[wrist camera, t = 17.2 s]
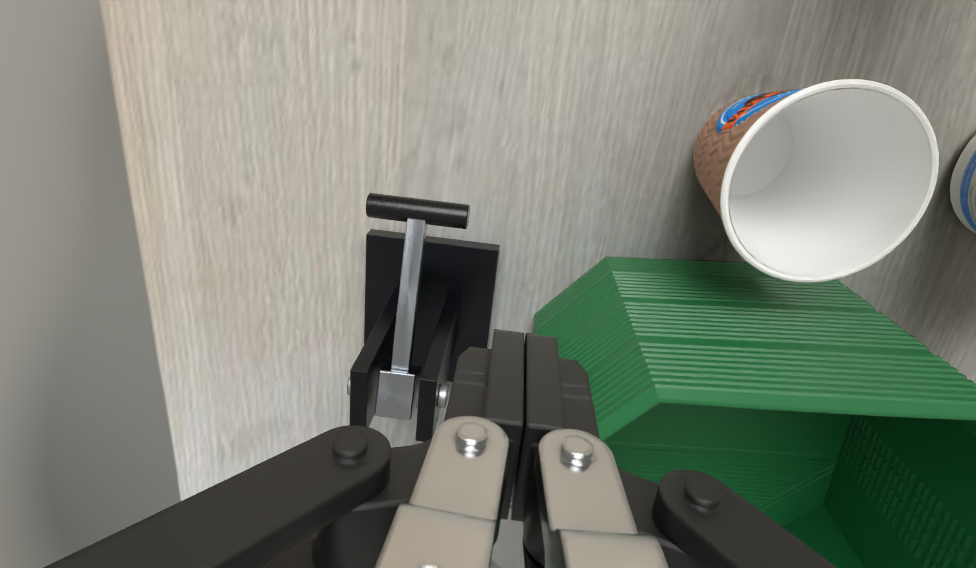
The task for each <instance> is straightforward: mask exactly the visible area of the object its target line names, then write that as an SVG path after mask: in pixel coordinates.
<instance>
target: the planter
mask: <svg viewBox="0 0 976 568" xmlns="http://www.w3.org/2000/svg"><path fill="white" fill-rule="evenodd" d="M764 265H765V264H764ZM783 273H784V272H783ZM534 334H537V335H545V336H553V337H557V344H558V354H559V358H564V359H572V360H577V361H578V362H579V363H580V365H581V366H582V367H583V368H584V369H585V371H586V372H587V373H588V378H589V383H590V390H591V394H592V401H593V404H594V410H595V415H596V421H597V426H598V431H599V437H600V440H602V441H603V442H604V443H605V444H606V445H607V446H608V447H609V448H610V450H611V451H612V454H613V456H614V459H615V462H616V465H617V466H619V467H620V468H622V469H623V470H625V471H627V472H629V473H631V474H633V475H636V476H638V477H641V478H643V479H646V480H649V481H652V482H654V483H657V484H659V483H660V481H661V478H662V477H663V476H664V475H665V474H667V473H668V472H671V471H673V470H680V469H686V470H694V471H698V472H701V473H705V474H707V475H709V476H712V477H714V478H715V479H717V480H719V481H720V482H722V483H723V484H725V485H726V486H728V487H729V488H730V489H732V490H733V491H734V492H736V493H737V494H738V495H740V496H741V497H742V498H744V499H745V500H747V501H748V502H749V503H751V504H752V505H753V506H755V507H756V508H757V509H759V510H760V511H761V512H763V513H764V514H765V515H767V516H768V517H769V518H771V519H772V520H773V521H775V522H776V523H778V524H779V525H780V526H782V527H783V528H784V529H786V530H787V531H788V532H790V533H791V534H792V535H794V536H795V537H796V538H798V539H799V540H800V541H802V542H803V543H805V544H806V545H807V546H809V547H810V548H811V549H813V550H814V551H815V552H817V553H818V554H819V555H821V556H822V557H823V558H825V559H826V560H827V561H829V562H830V563H831V564H833V565H834V566H836V567H837V568H976V385H975V383H974V382H973V381H971V380H968V379H967V378H966V376H965V375H963V374H961V373H959V372H958V371H957V369H955V368H954V367H951V366H950V365H949V363H947V362H946V361H943V360H942V358H941V357H939V356H935V355H933V354H932V353H931V352H930V351H929V349H928V348H927V347H926V346H925V345H922V344H921V343H920V342H919V341H918V340H915V339H914V337H913V336H911V335H909V334H908V333H907V332H906V331H905V330H902V329H901V327H899V326H897V325H896V324H895V323H894V322H893V321H890V320H889V318H887V317H885V316H884V315H883V314H882V313H878V312H877V311H876V310H875V309H874V308H873V306H871V305H869V304H868V303H867V302H866V301H864V300H863V299H862V298H861V297H858V295H857V294H855V293H853V291H851V290H849V289H848V288H847V287H845V286H844V285H843V284H842V283H840V282H839V281H838V280H829V281H822V282H792V281H786V280H782V279H778V278H775V277H772V276H769V275H767V274H765V273H763V272H761V271H759V270H757V269H756V268H754V267H753V266H751V265H750V264H749V263H738V262H714V261H691V260H667V259H643V258H620V257H606V258H604V259H603V260H602V261H601V262H599V263H598V264H597V265H596V266H594V267H593V268H592V269H591V270H589V271H588V272H587V273H586V274H584V275H583V276H582V277H581V278H579V279H578V280H577V281H576V282H574V283H573V284H572V285H571V286H569V287H568V288H567V289H566V290H565V291H563V292H562V293H561V294H560V295H558V296H557V297H556V298H555V299H553V300H552V301H551V302H550V303H548V304H547V305H546V306H545V307H543V308H542V309H541V310H540V311H538V312H537V313H536V314H535V320H534Z"/></svg>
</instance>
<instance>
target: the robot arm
mask: <svg viewBox="0 0 976 568" xmlns="http://www.w3.org/2000/svg"><path fill="white" fill-rule="evenodd" d="M511 496H512V504H511V520H514V521H521V522H523V537H522V543H521V548H520V555H519V561H520V568H837V567H836V566H834V565H833V564H831V563H830V562H829V561H827V560H826V559H825V558H823V557H822V556H821V555H819V554H818V553H817V552H815V551H814V550H813V549H811V548H810V547H809V546H807V545H806V544H805V543H803V542H802V541H800V540H799V539H798V538H796V537H795V536H794V535H792V534H791V533H790V532H788V531H787V530H786V529H784V528H783V527H782V526H780V525H779V524H778V523H776V522H775V521H773V520H772V519H771V518H769V517H768V516H767V515H765V514H764V513H763V512H761V511H760V510H759V509H757V508H756V507H755V506H753V505H752V504H751V503H749V502H748V501H747V500H745V499H744V498H742V497H741V496H740V495H738V494H737V493H736V492H734V491H733V490H732V489H730V488H729V487H728V486H726V485H725V484H723V483H722V482H720V481H719V480H717V479H715V478H714V477H712V476H709V475H707V474H705V473H701V472H698V471H694V470H686V469H680V470H673V471H671V472H668V473H667V474H665V475H664V476H663V477H662V478H661V481H660V483H659V484H657V483H654V482H652V481H649V480H646V479H643V478H641V477H638V476H636V475H633V474H631V473H629V472H627V471H625V470H623V469H622V468H620V467H619V466H617V465H616V462H615V459H614V456H613V454H612V451H611V450H610V448H609V447H608V446H607V445H606V444H605V443H604V442H603V441H602V440H600V437H599V431H598V426H597V421H596V415H595V410H594V404H593V401H592V394H591V390H590V383H589V378H588V373H587V372H586V371H585V369H584V368H583V367H582V366H581V365H580V363H579V362H578V361H577V360H572V359H564V358H559V354H558V344H557V337H553V336H545V335H537V334H529V333H526V336H525V342H524V333H520V332H512V331H505V330H497V329H494V335H493V343H492V349H485V348H477V347H469V348H468V349H467V350H465V351H464V352H463V353H462V354H461V355H460V356H459V357H458V361H457V366H456V371H455V375H454V379H453V384H452V388H451V393H450V397H449V401H448V406H447V410H446V415H445V419H444V422H443V423H442V424H440V425H439V426H438V428H437V429H436V431H435V433H434V435H433V437H432V438H431V439H429V440H427V441H425V442H423V443H420V444H416V445H412V446H405V447H395V448H391V447H390V444H389V441H388V440H387V438H386V437H385V436H384V435H383V434H381V433H380V432H378V431H377V430H374V429H372V428H369V427H364V426H355V425H351V426H342V427H338V428H334V429H331V430H329V431H327V432H324V433H322V434H320V435H318V436H316V437H314V438H312V439H310V440H308V441H306V442H304V443H302V444H299V445H297V446H295V447H293V448H291V449H289V450H287V451H285V452H283V453H281V454H279V455H277V456H275V457H272V458H270V459H268V460H266V461H264V462H262V463H260V464H258V465H256V466H254V467H252V468H250V469H248V470H245V471H243V472H241V473H239V474H237V475H235V476H233V477H231V478H229V479H227V480H225V481H223V482H221V483H218V484H216V485H214V486H212V487H210V488H208V489H206V490H204V491H202V492H200V493H198V494H196V495H194V496H191V497H189V498H187V499H185V500H183V501H181V502H179V503H177V504H175V505H173V506H171V507H169V508H166V509H164V510H162V511H160V512H158V513H156V514H154V515H152V516H150V517H148V518H146V519H144V520H142V521H140V522H138V523H135V524H133V525H131V526H129V527H127V528H125V529H123V530H121V531H119V532H117V533H115V534H112V535H110V536H108V537H106V538H104V539H102V540H100V541H98V542H96V543H94V544H92V545H90V546H88V547H86V548H83V549H81V550H79V551H77V552H75V553H73V554H71V555H69V556H67V557H65V558H63V559H61V560H59V561H56V562H54V563H52V564H50V565H48V566H46V567H44V568H490V563H491V557H492V551H493V546H494V544H495V543H496V541H497V538H498V534H499V528H500V521H501V519H505V520H508V514H509V508H510V502H511Z"/></svg>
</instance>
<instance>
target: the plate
mask: <svg viewBox="0 0 976 568" xmlns="http://www.w3.org/2000/svg"><path fill="white" fill-rule="evenodd" d="M522 537H523V522H521V521H514V520H511V508H509V514H508V520H505V519H501V521H500V528H499V534H498V538H497V541H496V543H495V544H494V546H493V551H492V557H491V563H490V568H520V561H519V555H520V548H521V543H522Z"/></svg>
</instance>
